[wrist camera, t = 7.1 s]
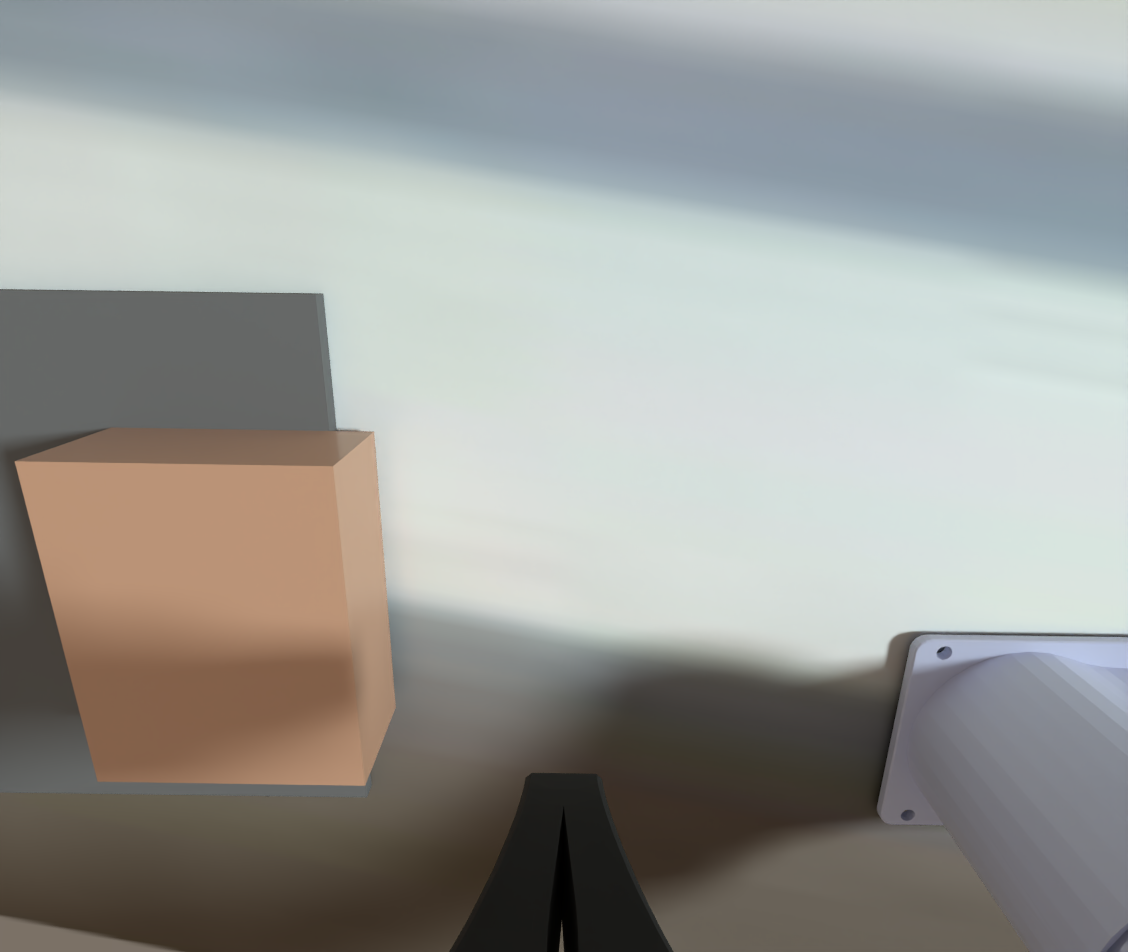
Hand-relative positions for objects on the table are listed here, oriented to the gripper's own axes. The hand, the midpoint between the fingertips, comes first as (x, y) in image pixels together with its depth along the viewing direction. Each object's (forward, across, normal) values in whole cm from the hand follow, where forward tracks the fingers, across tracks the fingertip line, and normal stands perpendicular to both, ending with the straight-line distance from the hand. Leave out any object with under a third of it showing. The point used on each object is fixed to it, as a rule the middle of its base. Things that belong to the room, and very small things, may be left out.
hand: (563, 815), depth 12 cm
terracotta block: (+8, +6, 0) cm, 10 cm away
